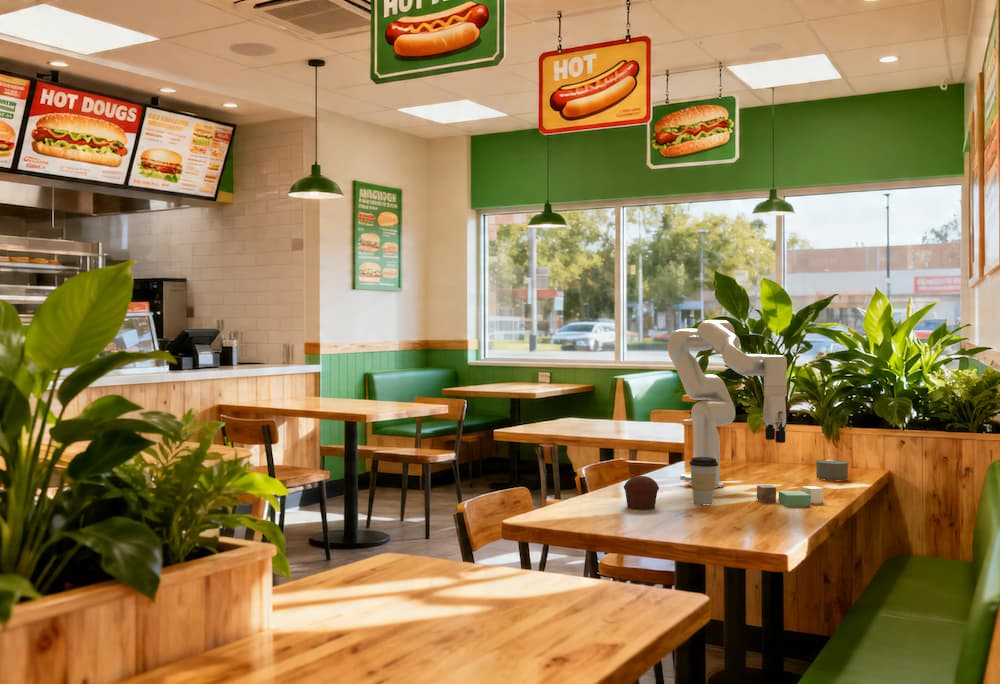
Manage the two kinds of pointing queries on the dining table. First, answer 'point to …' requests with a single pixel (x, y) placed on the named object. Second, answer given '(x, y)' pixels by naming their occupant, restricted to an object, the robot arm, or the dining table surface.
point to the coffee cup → (703, 479)
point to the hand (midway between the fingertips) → (775, 441)
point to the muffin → (641, 493)
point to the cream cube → (814, 493)
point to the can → (832, 469)
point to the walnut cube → (766, 493)
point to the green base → (794, 498)
